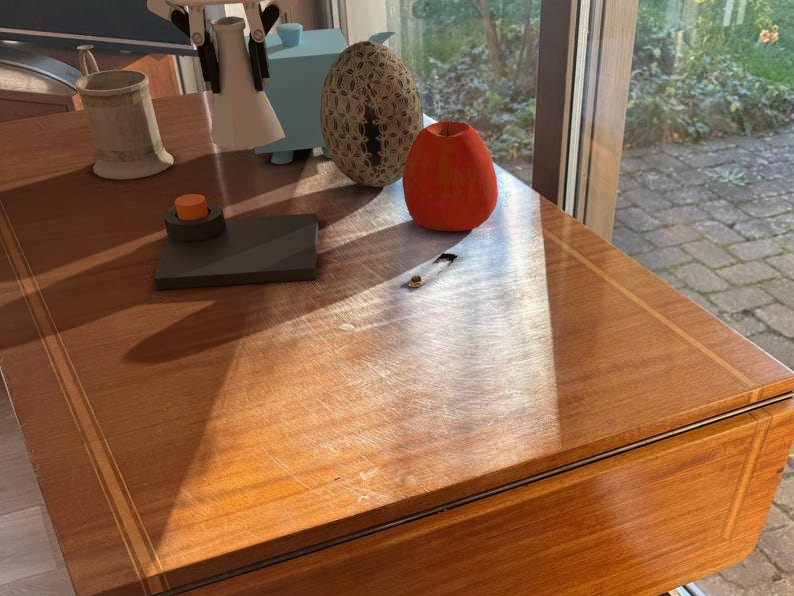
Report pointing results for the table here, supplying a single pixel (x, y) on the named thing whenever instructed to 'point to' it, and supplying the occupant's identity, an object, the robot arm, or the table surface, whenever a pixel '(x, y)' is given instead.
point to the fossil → (450, 257)
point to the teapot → (300, 84)
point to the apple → (449, 178)
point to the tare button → (191, 207)
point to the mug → (121, 121)
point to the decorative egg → (370, 114)
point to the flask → (239, 93)
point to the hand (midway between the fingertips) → (239, 86)
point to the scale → (237, 250)
